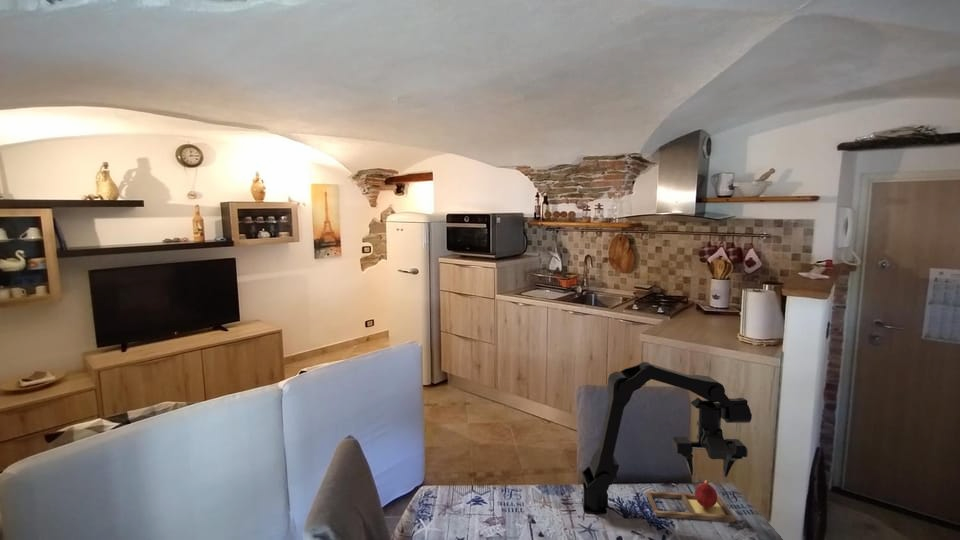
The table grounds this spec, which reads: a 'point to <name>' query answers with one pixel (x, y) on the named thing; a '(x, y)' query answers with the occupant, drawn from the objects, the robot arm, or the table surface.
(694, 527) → the table surface
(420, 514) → the table surface
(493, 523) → the table surface
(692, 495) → the wooden divided frame
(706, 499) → the red pomegranate
